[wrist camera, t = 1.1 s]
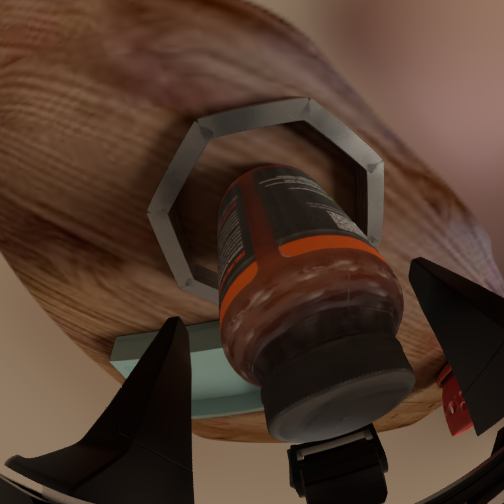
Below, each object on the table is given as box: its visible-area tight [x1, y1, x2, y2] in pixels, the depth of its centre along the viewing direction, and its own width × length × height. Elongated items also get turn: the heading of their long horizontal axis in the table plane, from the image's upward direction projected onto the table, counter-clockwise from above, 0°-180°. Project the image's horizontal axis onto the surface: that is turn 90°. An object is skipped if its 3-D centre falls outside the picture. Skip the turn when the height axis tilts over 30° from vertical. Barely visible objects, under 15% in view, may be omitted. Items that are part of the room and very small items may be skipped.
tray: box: [110, 320, 264, 419], centre depth 21 cm, size 12×12×2 cm
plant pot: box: [437, 363, 474, 436], centre depth 27 cm, size 13×13×12 cm
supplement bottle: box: [217, 164, 416, 443], centre depth 10 cm, size 6×6×11 cm
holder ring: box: [147, 97, 384, 305], centre depth 14 cm, size 12×12×2 cm
